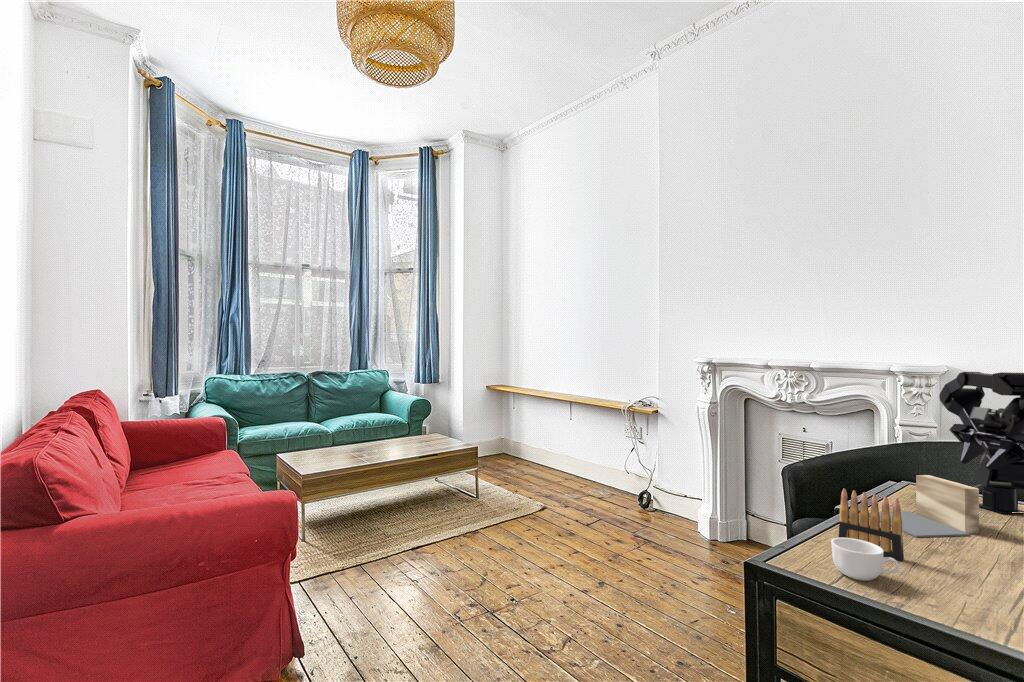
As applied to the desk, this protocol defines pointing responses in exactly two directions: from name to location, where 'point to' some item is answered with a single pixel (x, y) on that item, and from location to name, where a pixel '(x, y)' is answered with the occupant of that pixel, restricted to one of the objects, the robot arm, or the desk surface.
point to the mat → (925, 526)
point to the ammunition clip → (872, 524)
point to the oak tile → (948, 503)
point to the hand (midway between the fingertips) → (974, 465)
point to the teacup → (859, 558)
